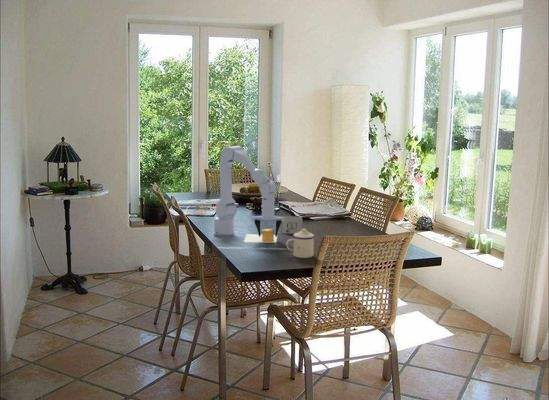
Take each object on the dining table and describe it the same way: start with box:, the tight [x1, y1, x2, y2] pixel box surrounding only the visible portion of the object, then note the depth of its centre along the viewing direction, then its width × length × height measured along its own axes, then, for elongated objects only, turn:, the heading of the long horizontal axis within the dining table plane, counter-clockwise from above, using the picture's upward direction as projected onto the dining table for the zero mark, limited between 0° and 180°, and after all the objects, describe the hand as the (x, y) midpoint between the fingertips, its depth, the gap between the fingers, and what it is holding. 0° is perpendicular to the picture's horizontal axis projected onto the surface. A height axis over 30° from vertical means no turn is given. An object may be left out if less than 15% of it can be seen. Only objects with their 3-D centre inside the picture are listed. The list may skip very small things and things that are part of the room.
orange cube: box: [261, 228, 275, 242], centre depth 278 cm, size 5×5×5 cm
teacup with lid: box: [285, 228, 315, 259], centre depth 255 cm, size 12×9×12 cm
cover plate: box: [243, 233, 278, 244], centre depth 282 cm, size 15×16×4 cm
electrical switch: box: [282, 215, 303, 235], centre depth 295 cm, size 9×5×9 cm, turn 78°
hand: (267, 236), depth 278 cm, fingers open, 7 cm apart
